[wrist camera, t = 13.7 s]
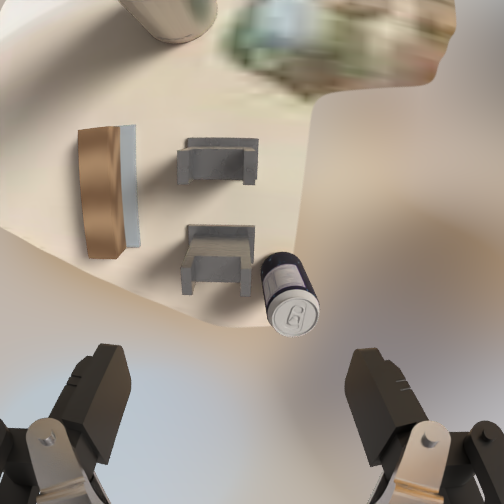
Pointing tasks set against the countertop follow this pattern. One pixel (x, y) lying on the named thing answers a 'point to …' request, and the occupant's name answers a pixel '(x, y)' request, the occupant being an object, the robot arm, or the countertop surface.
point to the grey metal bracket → (218, 160)
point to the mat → (129, 184)
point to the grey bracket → (218, 256)
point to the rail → (101, 191)
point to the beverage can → (288, 295)
